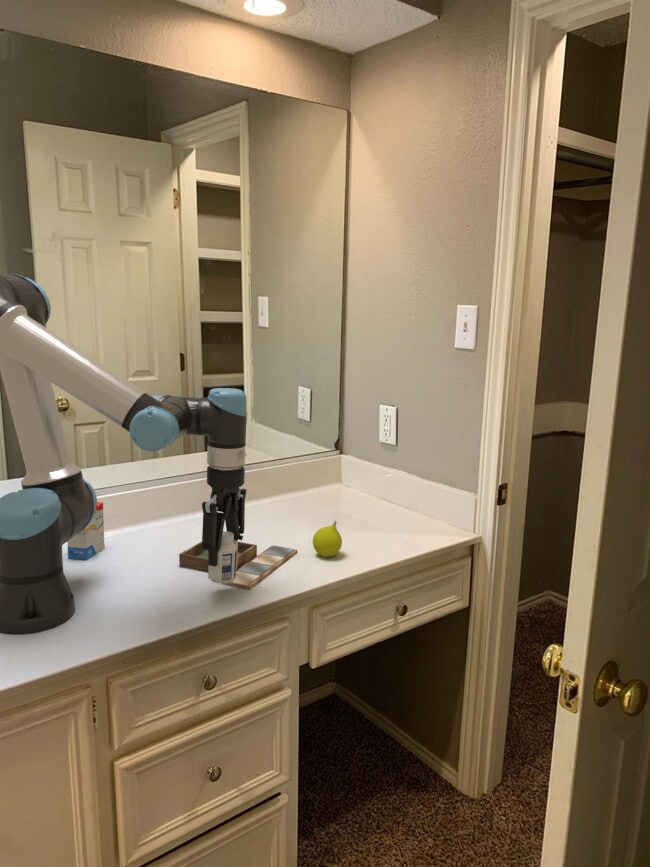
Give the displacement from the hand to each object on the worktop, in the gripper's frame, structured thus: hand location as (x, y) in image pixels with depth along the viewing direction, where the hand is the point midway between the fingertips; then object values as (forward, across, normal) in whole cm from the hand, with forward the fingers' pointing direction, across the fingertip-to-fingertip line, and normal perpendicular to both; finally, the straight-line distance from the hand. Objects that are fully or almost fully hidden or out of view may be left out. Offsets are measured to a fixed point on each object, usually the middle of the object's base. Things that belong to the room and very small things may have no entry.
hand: (222, 573), depth 136 cm
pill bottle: (+1, 0, 0) cm, 1 cm away
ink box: (+6, +5, +40) cm, 41 cm away
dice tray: (+4, +14, +10) cm, 18 cm away
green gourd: (+4, +29, -12) cm, 32 cm away
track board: (+4, +16, -1) cm, 16 cm away
